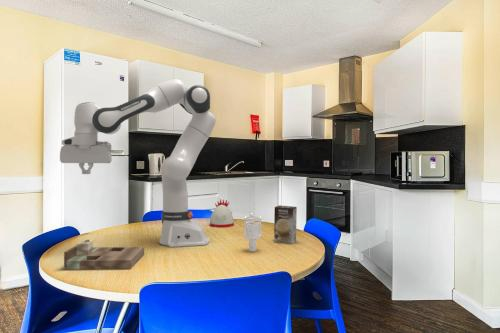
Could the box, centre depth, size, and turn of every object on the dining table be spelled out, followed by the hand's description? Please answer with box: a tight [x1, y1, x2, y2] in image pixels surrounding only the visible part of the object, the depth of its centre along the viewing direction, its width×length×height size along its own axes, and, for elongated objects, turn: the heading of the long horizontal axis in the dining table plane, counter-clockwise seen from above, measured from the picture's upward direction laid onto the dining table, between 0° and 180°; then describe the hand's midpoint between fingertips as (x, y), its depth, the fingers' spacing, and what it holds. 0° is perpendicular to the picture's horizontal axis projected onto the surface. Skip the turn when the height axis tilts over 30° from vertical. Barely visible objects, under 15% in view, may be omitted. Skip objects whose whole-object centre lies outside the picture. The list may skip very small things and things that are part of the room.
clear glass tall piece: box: [243, 212, 262, 252], centre depth 140 cm, size 7×7×15 cm
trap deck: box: [63, 239, 145, 271], centre depth 124 cm, size 22×18×6 cm
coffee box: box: [273, 205, 298, 245], centre depth 156 cm, size 9×6×16 cm
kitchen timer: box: [209, 199, 235, 229], centre depth 195 cm, size 14×14×15 cm
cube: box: [75, 241, 93, 255], centre depth 123 cm, size 4×4×4 cm
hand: (86, 174), depth 143 cm, fingers closed
